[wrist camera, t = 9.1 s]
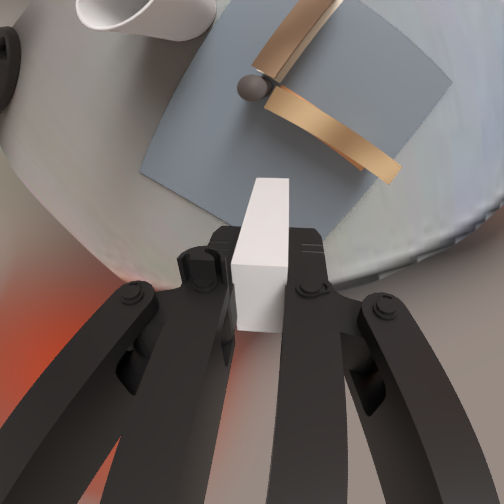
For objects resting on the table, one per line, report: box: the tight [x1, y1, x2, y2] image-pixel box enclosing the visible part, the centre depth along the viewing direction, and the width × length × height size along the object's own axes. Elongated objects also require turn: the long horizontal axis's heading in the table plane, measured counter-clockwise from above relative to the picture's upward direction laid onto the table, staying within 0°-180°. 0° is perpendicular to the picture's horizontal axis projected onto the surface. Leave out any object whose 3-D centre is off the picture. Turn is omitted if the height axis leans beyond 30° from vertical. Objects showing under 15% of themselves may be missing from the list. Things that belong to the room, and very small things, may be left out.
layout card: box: [139, 0, 453, 241], centre depth 23 cm, size 21×27×1 cm
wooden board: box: [264, 86, 402, 185], centre depth 20 cm, size 11×2×6 cm, turn 63°
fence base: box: [237, 0, 335, 102], centre depth 16 cm, size 2×13×6 cm, turn 148°
